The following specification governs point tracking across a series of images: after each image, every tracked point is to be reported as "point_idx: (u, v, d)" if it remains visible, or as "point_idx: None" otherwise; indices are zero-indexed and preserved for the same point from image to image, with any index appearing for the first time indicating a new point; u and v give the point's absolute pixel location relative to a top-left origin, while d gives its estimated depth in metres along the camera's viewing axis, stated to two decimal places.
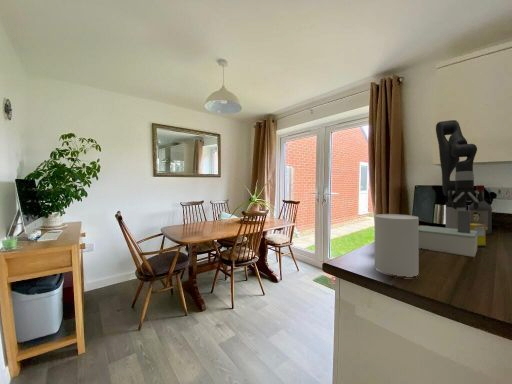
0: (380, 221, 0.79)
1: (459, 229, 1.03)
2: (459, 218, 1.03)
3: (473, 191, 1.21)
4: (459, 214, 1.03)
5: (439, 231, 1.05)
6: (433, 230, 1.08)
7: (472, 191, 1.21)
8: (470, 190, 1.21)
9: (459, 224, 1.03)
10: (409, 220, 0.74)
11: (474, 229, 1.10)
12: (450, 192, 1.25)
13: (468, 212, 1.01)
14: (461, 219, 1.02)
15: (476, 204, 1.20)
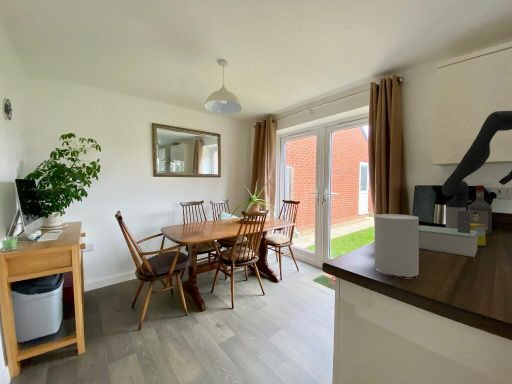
0: (380, 221, 0.79)
1: (459, 229, 1.03)
2: (459, 218, 1.03)
3: None
4: (459, 214, 1.03)
5: (439, 231, 1.05)
6: (433, 230, 1.08)
7: None
8: None
9: (459, 224, 1.03)
10: (409, 220, 0.74)
11: (474, 229, 1.10)
12: None
13: (468, 212, 1.01)
14: (461, 219, 1.02)
15: None
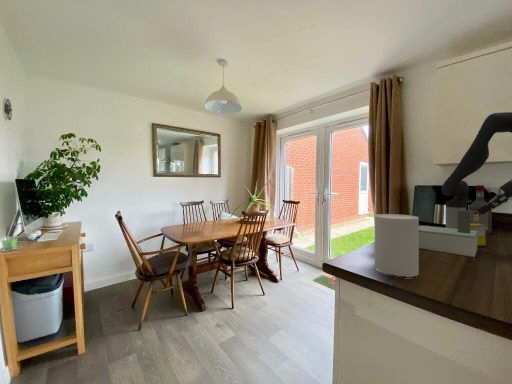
0: (380, 221, 0.79)
1: (459, 229, 1.03)
2: (459, 218, 1.03)
3: None
4: (459, 214, 1.03)
5: (439, 231, 1.05)
6: (433, 230, 1.08)
7: None
8: None
9: (459, 224, 1.03)
10: (409, 220, 0.74)
11: (474, 229, 1.10)
12: (505, 200, 0.89)
13: (468, 212, 1.01)
14: (461, 219, 1.02)
15: None
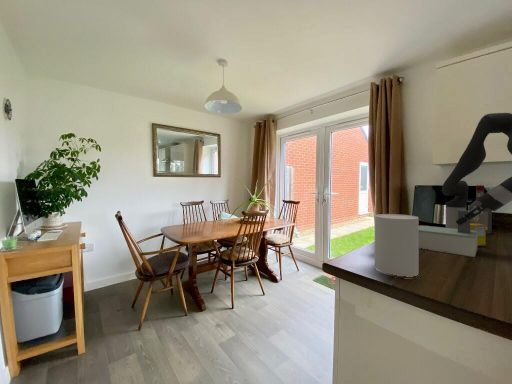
0: (380, 221, 0.79)
1: (459, 229, 1.03)
2: (459, 218, 1.03)
3: None
4: (459, 214, 1.03)
5: (439, 231, 1.05)
6: (433, 230, 1.08)
7: None
8: None
9: None
10: (409, 220, 0.74)
11: (474, 229, 1.10)
12: (478, 214, 0.95)
13: None
14: None
15: None
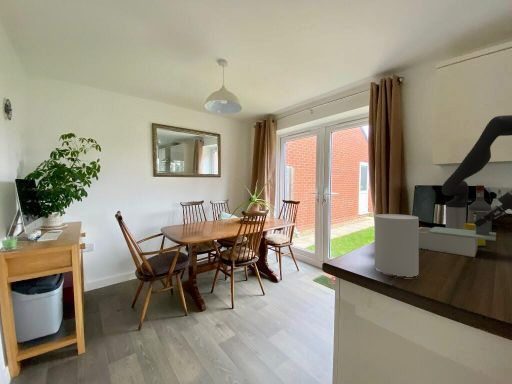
0: (380, 220, 0.79)
1: (477, 231, 0.98)
2: (477, 219, 0.98)
3: None
4: (477, 215, 0.98)
5: (456, 233, 1.01)
6: (449, 232, 1.03)
7: None
8: None
9: None
10: (409, 220, 0.74)
11: (474, 229, 1.10)
12: (499, 215, 0.91)
13: None
14: None
15: None
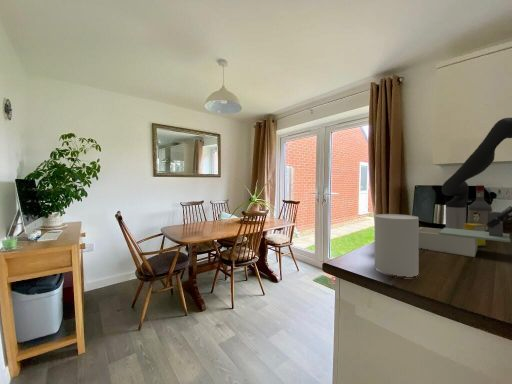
0: (380, 221, 0.79)
1: (490, 232, 0.96)
2: (490, 220, 0.95)
3: None
4: (490, 216, 0.95)
5: (468, 234, 0.98)
6: (461, 233, 1.01)
7: None
8: None
9: None
10: (409, 220, 0.74)
11: (474, 229, 1.10)
12: None
13: None
14: None
15: None
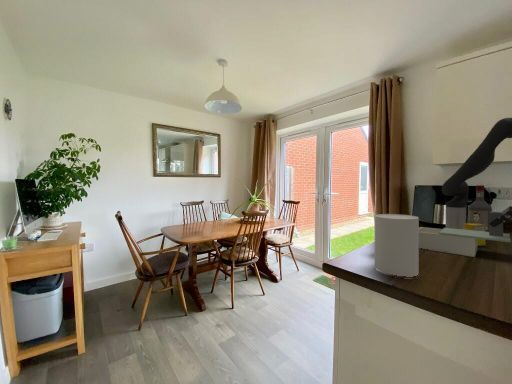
0: (380, 221, 0.79)
1: (491, 232, 0.96)
2: (491, 220, 0.95)
3: None
4: (491, 216, 0.95)
5: (468, 234, 0.98)
6: (461, 233, 1.00)
7: None
8: None
9: (491, 227, 0.95)
10: (409, 220, 0.74)
11: (474, 229, 1.10)
12: None
13: (501, 214, 0.93)
14: None
15: None
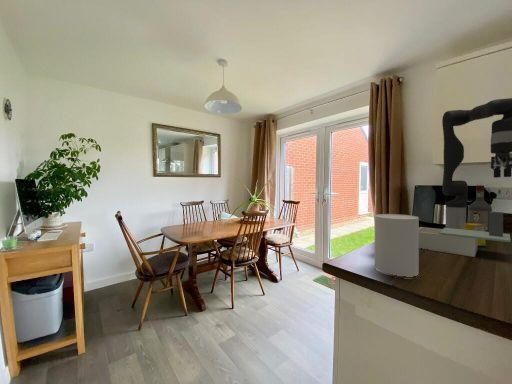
0: (380, 221, 0.79)
1: (491, 232, 0.96)
2: (491, 220, 0.95)
3: None
4: (491, 216, 0.95)
5: (468, 234, 0.98)
6: (461, 233, 1.00)
7: None
8: None
9: (491, 227, 0.95)
10: (409, 220, 0.74)
11: (474, 229, 1.10)
12: None
13: (501, 214, 0.93)
14: (493, 221, 0.95)
15: None
